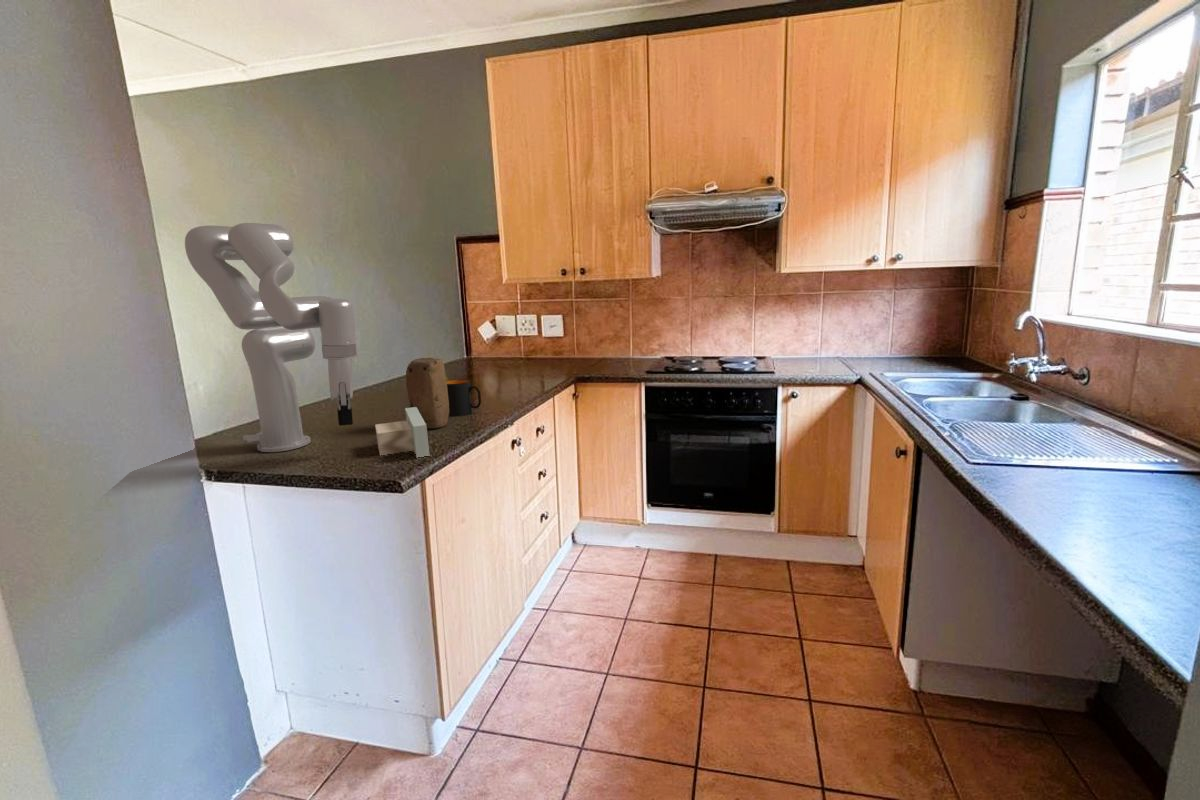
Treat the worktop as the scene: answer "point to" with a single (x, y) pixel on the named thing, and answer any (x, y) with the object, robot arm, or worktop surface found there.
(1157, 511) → the worktop surface
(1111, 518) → the worktop surface
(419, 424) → the sage board
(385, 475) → the worktop surface
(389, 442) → the beech block
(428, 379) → the brown rounded tall lump
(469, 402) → the mug
